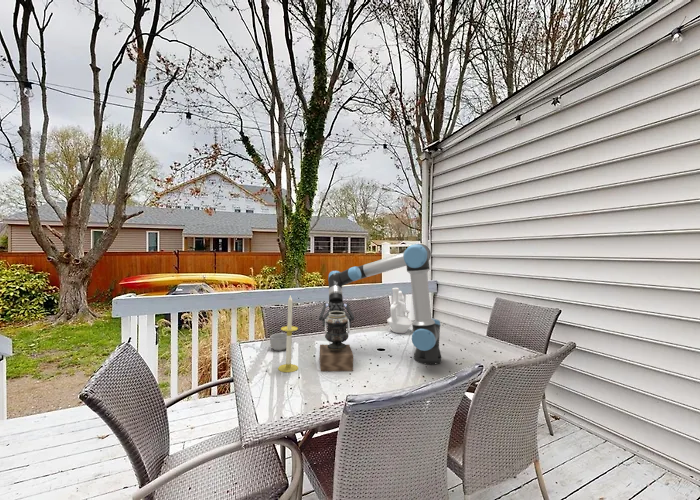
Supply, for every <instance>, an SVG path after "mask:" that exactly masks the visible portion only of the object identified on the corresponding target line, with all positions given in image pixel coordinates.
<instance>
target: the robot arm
mask: <svg viewBox="0 0 700 500" xmlns="http://www.w3.org/2000/svg"><path fill="white" fill-rule="evenodd" d="M431 255H432V252H431V250H430V248H429V246H427V245H425V244H422V243H415V244H411V245H408V246H407V248H406V249H404V251H403V252H401V253H398V254H394V255H391V256H388V257H385V258H382V259H378V260H376V261H373V262H372V261H371V262H369V263H365V264H363V265H359V266H352V267H349V268H346V269H345V270H342V271H339V270H331V271H330V272H329V273H328V278H327V281H328V303H326V302H323V307H322V309H321V312H320V314H319V316H318V317H319V318H318V320H319V321H321V322H322V327H324V334H326V333H327V332H328V324H327V323H326V321H325V320H326V318H327V317H328V315H329V312H331V311H343V312H345V315H346V317H347V318H348V323H347V324H346V331H347V333H348V334H350V330H351V329H350V328H351V327H352V322H354V320H355V316H354V313H353V312H352V310H351V307H350V303H349V302H347V303H344V301H343V299H344V297H343V286H345V285H348V284H350V283H353V282H356V281H359V280H363V279H366V278H368V277H372V276H375V275H379V274H383V273H386V272H390V271H393V270H396V269H400V268H404V267H406V272H407V273H408V274H409V275H410V284H411V285H410V286H411V294H412V305H413V316H414V321H412V325H411V326H412V334H411V342H412V344H413V346H414V347H415V350H414V353H413V360H415V361H416V362H418V363H420V364H424V363H426V364H425V365H436V364H435V363H439V364H441V363H442V362H443V361H442V358H443V356H442V354H441V350H440V336H441V335H440V334H441V332H440V331H441V320H439V319H436V318H433V317H432V311H431V310H432V309H431V308H432V307H431V300H430V298H431V297H430V288H429V279H428V272H429V271H430V260H431ZM327 308H329V309H328V310H327V312H326V313H325V311H326V309H327ZM344 308H345V309H346V310H345V309H344ZM440 362H441V363H440Z"/></svg>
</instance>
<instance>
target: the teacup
mask: <svg viewBox="0 0 700 500" xmlns="http://www.w3.org/2000/svg"><path fill="white" fill-rule="evenodd" d="M269 341H270V347H271V348H272V350H274V351H279V352H280V351H284V350H285V351H286V343H287V332H286V333H285V332H284V331H281V332H279V333H273V334H271V335H270V336H269Z"/></svg>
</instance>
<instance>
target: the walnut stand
mask: <svg viewBox="0 0 700 500" xmlns="http://www.w3.org/2000/svg"><path fill="white" fill-rule="evenodd" d="M328 345H329V344H319V357H318V359H319V369H320V372H352V371H354V353H353V351H352V347H351V345H350V344H346V348H345V349H341V350H332V349H329V348H328V347H327V346H328Z"/></svg>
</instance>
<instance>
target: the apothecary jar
mask: <svg viewBox="0 0 700 500" xmlns="http://www.w3.org/2000/svg"><path fill="white" fill-rule="evenodd" d="M325 321H326V323H327V332H326V333H324V334H325V335H324V338H325V340H326V341H327V342H330V343H329V344H327V345H328V346H327V347H328V348H329V349H332V350H341V349H345V348H346V345H347V344H345V343H344V342H346V341H347V340H348V339H349V333H348V331H347V323H348V318H347V317H346V315H345V312H343V311H331V312H329V315H328V317H327V318H326V320H325Z"/></svg>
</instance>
